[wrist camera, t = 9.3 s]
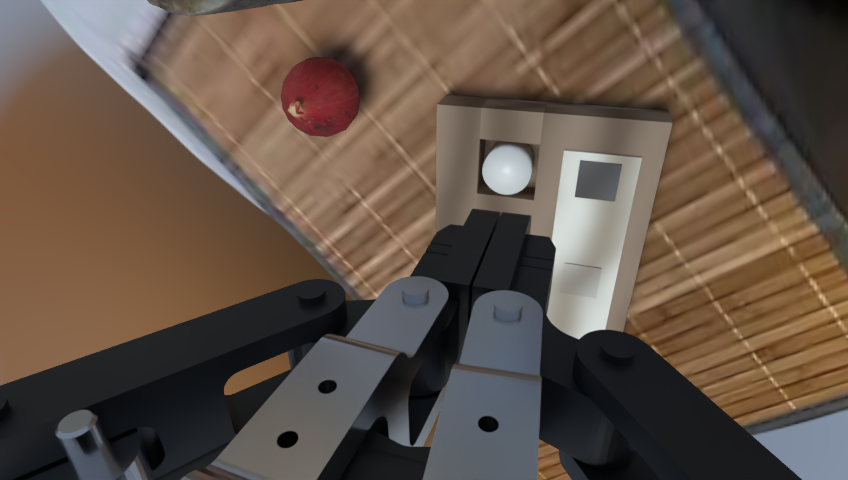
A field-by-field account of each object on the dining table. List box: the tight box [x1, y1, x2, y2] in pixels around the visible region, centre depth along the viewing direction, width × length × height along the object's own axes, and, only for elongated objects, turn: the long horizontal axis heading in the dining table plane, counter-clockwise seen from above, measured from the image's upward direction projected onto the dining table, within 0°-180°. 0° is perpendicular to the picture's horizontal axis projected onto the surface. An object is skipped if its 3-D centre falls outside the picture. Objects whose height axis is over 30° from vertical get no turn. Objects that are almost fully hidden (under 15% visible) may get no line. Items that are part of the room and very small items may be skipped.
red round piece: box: [281, 57, 360, 137], centre depth 40 cm, size 6×6×8 cm
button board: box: [436, 95, 672, 339], centre depth 44 cm, size 16×26×3 cm, turn 3°
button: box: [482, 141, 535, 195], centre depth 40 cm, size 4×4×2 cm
